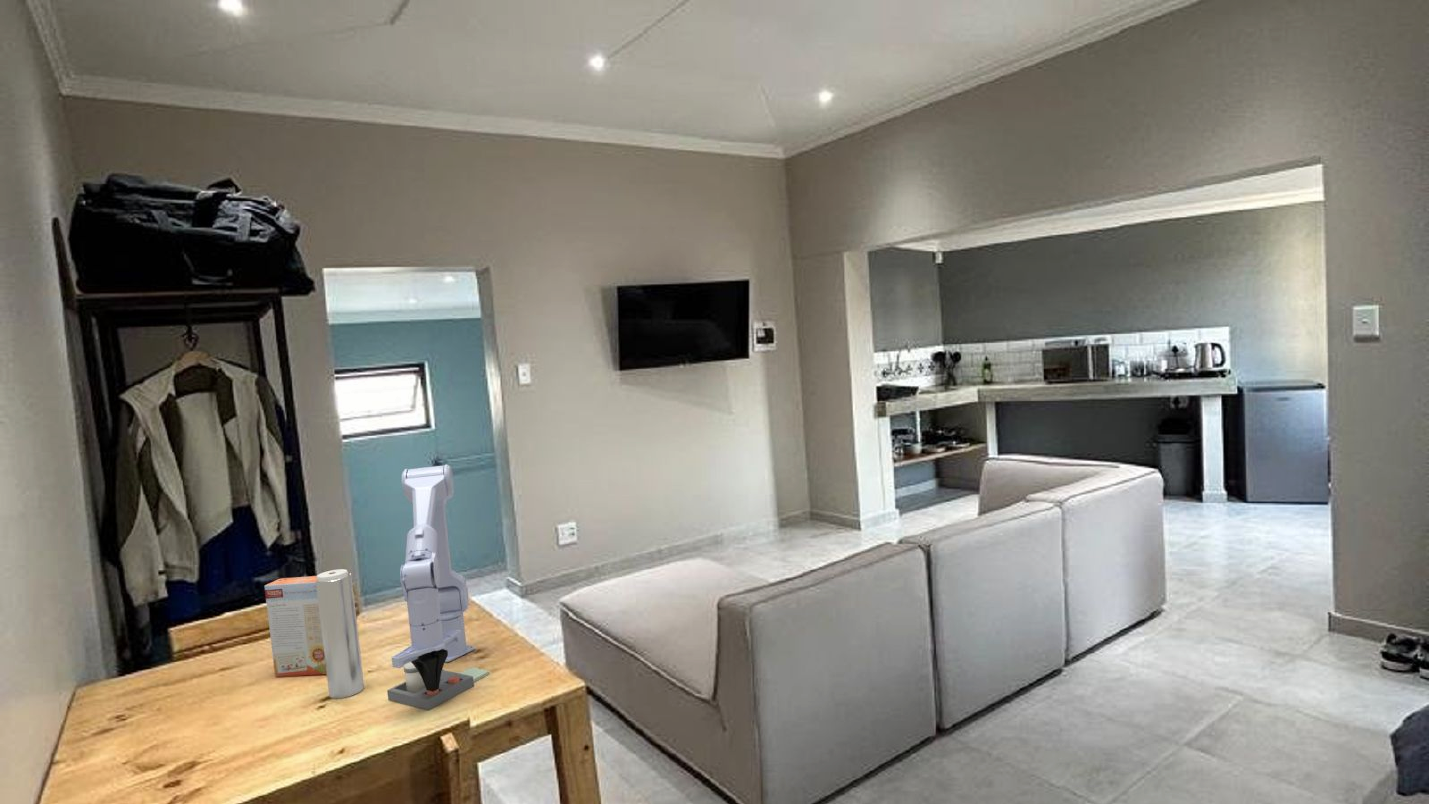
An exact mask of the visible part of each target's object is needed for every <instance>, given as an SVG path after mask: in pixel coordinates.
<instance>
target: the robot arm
mask: <svg viewBox="0 0 1429 804" xmlns="http://www.w3.org/2000/svg"><path fill="white" fill-rule="evenodd" d="M454 486H455V485H454V477H453V471H452V467H451V466H450V465H449V464H445V465H435V466H428V467H418V468H405V469H404V470H403V471H402V472H401V489H402V493H403V495H404V497H406V499H407V501H408V502H410V503H412V517H413V518H412V519H413V528H411V529H409V531H408V532H407V535H406V548H405V557H404V564H401V566H400V571H399V572H400V573H399V575H400V576H399V578H400V584H401V588H402V592H403V597H404V601H405V602H406V604H407V615H408V622H409V623H408V625H409V632H410V641H411V645H410V646H407V647H406V648H404V649H403V650H402V651H400V652H398V653H397V654H395V655H393V656H391V665H392V668H395V669H401V668H404V665H405V664H407V663H409V662H411V663H412V664H413V665H414V666H415V667H416V669H417V670H418V672H419V674H420V675H421V677H422V679H423V682H424V684H425V687H426V690H428V691H432V692H434V691H435V690H437V689H439V683H440V677H441V672H442V670H443V668H444V665H445V663H449V662H452V661H454V660H456V659H457V658H460V657H462V656H463V655H464V656H465V655H466V654H468V653H470V652H473V651H474V650H476V646H472V645H467V638H466V629H465V628H466V627H465V620H464V619H465V618H464V612H467V610H468V609H469V605H470V603H469V602H470V601H469V600H470V599H469V591H468V590H469V589H468V586H467V581H466V580H467V578H465V576H464V575H462V574H460V573H458V572H456V571H455V570H453V569H452V561H451V551H450V543H449V533H448V523H447V515H446V506H447V502H448V501H449V500H450V499H452V498H454V495H455V489H454Z"/></svg>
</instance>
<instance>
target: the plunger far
mask: <svg viewBox="0 0 1429 804" xmlns="http://www.w3.org/2000/svg"><path fill="white" fill-rule="evenodd" d="M459 681H460V678H459V677H458V676H454V677H451V678H449V679H448V684H452V685H453V684H455V683H457V682H459Z"/></svg>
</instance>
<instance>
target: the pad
mask: <svg viewBox="0 0 1429 804" xmlns="http://www.w3.org/2000/svg"><path fill="white" fill-rule="evenodd" d="M458 673H459V674H464V675H469V676H473V682H474V683H475V682H477V681H479V680H481V679H483V678H485V677H487V676H489V675H490V670H486V669H481V668H476V667H469V668H467V669H465V670H463V671H461V672H458Z"/></svg>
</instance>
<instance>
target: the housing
mask: <svg viewBox="0 0 1429 804" xmlns="http://www.w3.org/2000/svg"><path fill="white" fill-rule="evenodd" d="M459 673H460V672H453V671H449V670H444V669H442V672H441V677H440V683H439V692H438V693H436V694H434V695H432V696H431V695H427V690H426V688H425V689H423V690H421V691H419V692H417V693H411V692H407V688H406V680H404V681H403V682H401V683H398V685H396V686H393V687H390V688H389V689H386V690H387V693H386V694H387V700H388V701H391V702H394V703H397V704H398V703H399V704H403V705H405V706H410V707H414V708H417V709H421V710H425V711H430V710H432V709H433V708H435V707H437V706H440V705H441V704H443V703H446V702H447V701H449V700H451V699H452V698H454V697H456V696H458V695H460V694H462V693H463V692H466V691H467V690H469V689H471V688H473V687H474V685H475V682H473V676H469V675H464V674H459ZM454 676H458V677H459V678H460V681H459V682H457V683H455V684H453V685H452V684H448V679H449V678H451V677H454Z"/></svg>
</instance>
